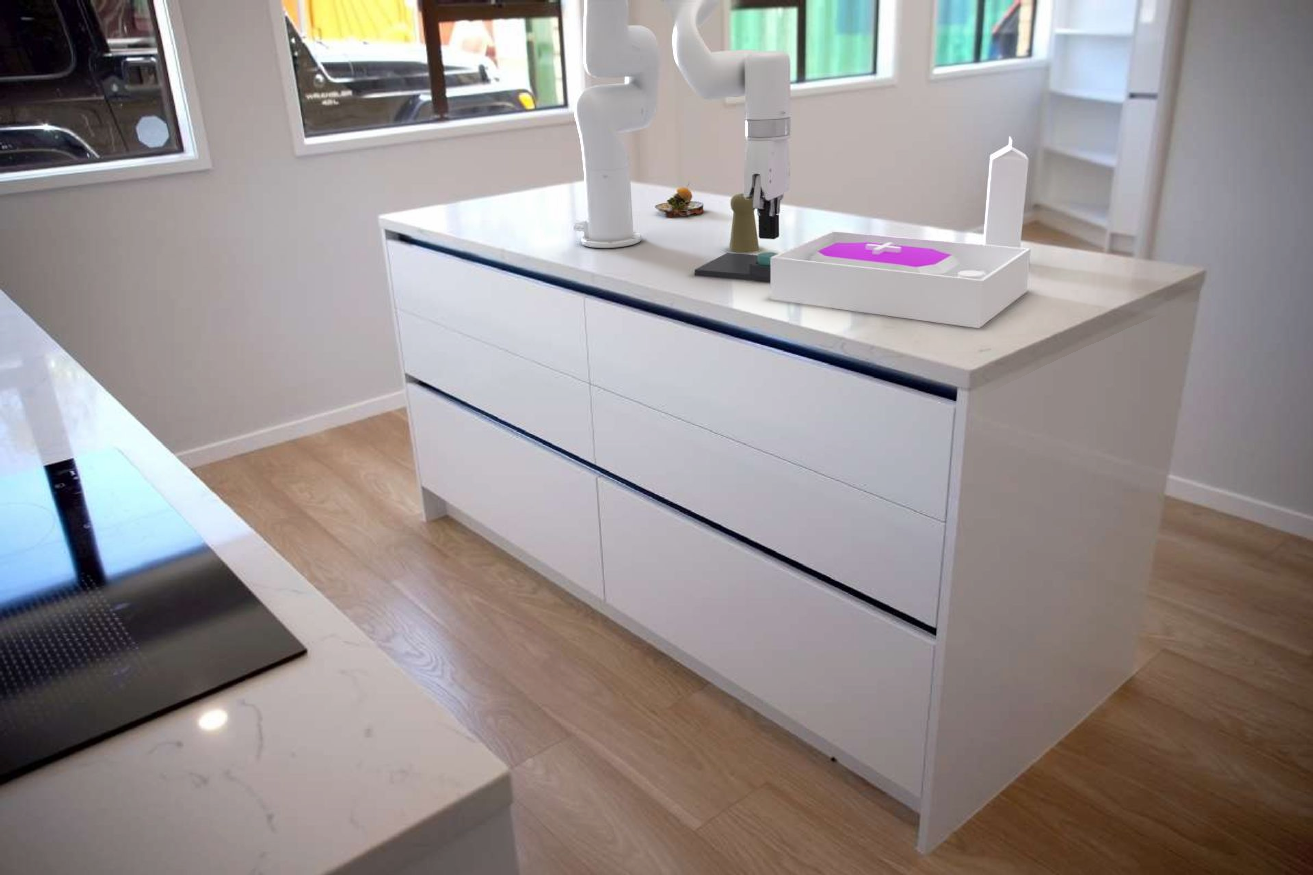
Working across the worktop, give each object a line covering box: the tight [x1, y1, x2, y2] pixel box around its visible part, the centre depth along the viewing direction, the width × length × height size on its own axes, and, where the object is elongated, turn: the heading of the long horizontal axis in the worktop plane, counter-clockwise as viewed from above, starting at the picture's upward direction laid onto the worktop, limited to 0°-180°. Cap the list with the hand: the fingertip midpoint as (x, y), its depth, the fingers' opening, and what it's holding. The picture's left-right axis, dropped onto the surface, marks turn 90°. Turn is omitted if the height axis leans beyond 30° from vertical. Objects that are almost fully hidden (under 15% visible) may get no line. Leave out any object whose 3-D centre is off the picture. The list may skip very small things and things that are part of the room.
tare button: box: [757, 251, 778, 265], centre depth 177 cm, size 4×4×2 cm
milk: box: [982, 135, 1030, 248], centre depth 175 cm, size 6×6×22 cm
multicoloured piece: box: [654, 181, 705, 218], centre depth 237 cm, size 12×12×8 cm
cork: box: [728, 193, 760, 254], centre depth 198 cm, size 6×6×11 cm
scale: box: [693, 252, 771, 283], centre depth 183 cm, size 17×15×3 cm
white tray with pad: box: [770, 230, 1032, 329], centre depth 162 cm, size 22×35×7 cm, turn 54°
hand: (768, 237), depth 175 cm, fingers closed
